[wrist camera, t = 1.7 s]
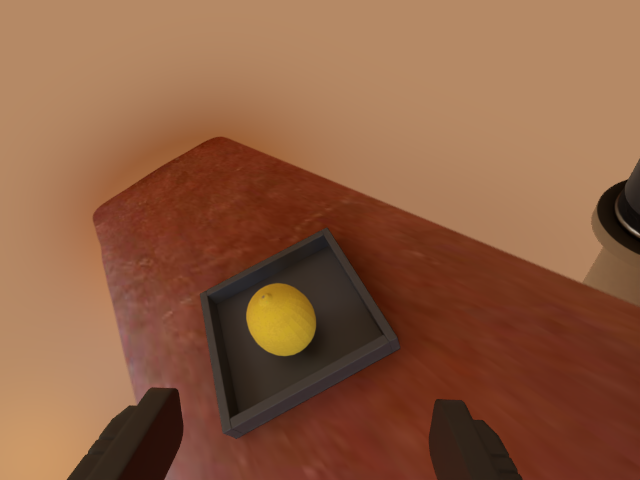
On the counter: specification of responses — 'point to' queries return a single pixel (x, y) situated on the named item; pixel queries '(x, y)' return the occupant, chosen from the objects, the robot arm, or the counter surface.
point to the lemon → (281, 319)
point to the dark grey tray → (313, 361)
